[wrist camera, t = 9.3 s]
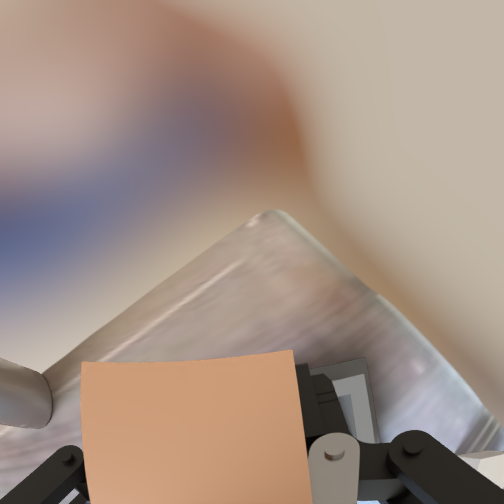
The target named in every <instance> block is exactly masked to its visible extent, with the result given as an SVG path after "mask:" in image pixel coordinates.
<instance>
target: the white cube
mask: <svg viewBox="0 0 504 504" xmlns="http://www.w3.org/2000/svg"><path fill="white" fill-rule="evenodd" d="M457 456H458V457H459V458H461V459H462V460H463V461H465V462H466V463H467V464H469V465H470V466H471V467H473V468H474V469H476V470H477V471H478V472H480V473H481V474H482V475H484V476H485V477H486V478H488V479H489V480H491V481H492V482H493V483H495V484H496V485H498V486H499V487H500V488H502V489H503V487H504V451H480V452H475V453H468V454H461V455H457Z"/></svg>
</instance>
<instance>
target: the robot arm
mask: <svg viewBox="0 0 504 504" xmlns="http://www.w3.org/2000/svg"><path fill="white" fill-rule="evenodd" d="M295 370H296V377H297V384H298V391H299V398H300V405H301V412H302V420H303V427H304V435H305V443H306V451H307V459H308V467H309V476H310V485H311V494H312V503H313V504H357V501H374V500H378V501H379V502H380V504H504V490H503V489H502V488H500V487H499V486H498V485H496V484H495V483H493V482H492V481H491V480H489V479H488V478H486V477H485V476H484V475H482V474H481V473H480V472H478V471H477V470H476V469H474V468H473V467H471V466H470V465H469V464H467V463H466V462H465V461H463V460H462V459H461V458H459V457H458V456H457V455H455V454H454V453H453V452H452V451H450V450H449V449H448V448H446V447H445V446H444V445H442V444H441V443H440V442H439V441H437V440H436V439H435V438H433V437H432V436H431V435H429V434H428V433H426V432H424V431H420V430H410V431H406V432H403V433H401V434H399V435H398V436H396V437H395V438H394V439H393V440H392V442H391V443H365V442H362V441H360V440H358V439H356V438H355V437H354V436H353V435H352V434H351V433H350V431H349V429H348V426H347V423H346V420H345V417H344V414H343V411H342V408H341V405H340V402H339V401H338V397H337V394H336V392H335V388H334V385H333V382H332V380H331V379H329V378H328V377H327V376H326V375H325V374H324V373H322V374H317V375H310V371H309V367H308V364H307V363H303V364H298V365H295ZM51 412H52V397H51V392H50V389H49V386H48V384H47V382H46V380H45V378H44V377H43V376H42V375H41V374H40V373H39V372H37V371H34V370H31V369H28V368H26V367H23V366H20V365H18V364H15V363H12V362H10V361H7V360H5V359H2V358H0V424H2V425H8V426H14V427H21V428H35V429H40V428H43V427H44V426H45V425H46V424H47V423H48V422H49V419H50V417H51ZM74 488H75V489H76V490H77V491H78V492H79V494H78V495H77V496H76V497H75V498H74V499H73V500H72V501H71V502H70V503H69V504H91V502H90V497H89V491H88V485H87V479H86V472H85V464H84V455H83V451H82V450H81V449H80V448H79V447H77V446H73V445H68V446H64V447H62V448H60V449H58V450H57V451H56V452H55V453H54V454H53V455H52V456H50V457H49V458H48V459H47V460H46V461H45V462H44V463H42V464H41V465H40V466H39V467H38V468H37V469H36V470H34V471H33V472H32V473H31V474H30V475H29V476H28V477H26V478H25V479H24V480H23V481H22V482H21V483H19V484H18V485H17V486H16V487H15V488H14V489H12V490H11V491H10V492H9V493H8V494H7V495H5V496H4V497H3V498H2V499H1V500H0V504H59V503H60V502H61V501H62V500H63V499H64V498H65V497H66V496H67V495H68V494H69V493H70V492H71V491H72V490H73V489H74Z"/></svg>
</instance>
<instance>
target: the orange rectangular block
mask: <svg viewBox="0 0 504 504" xmlns="http://www.w3.org/2000/svg"><path fill="white" fill-rule="evenodd" d="M81 429H82V444H83V455H84V464H85V472H86V479H87V485H88V491H89V497H90V502H91V504H313V503H312V494H311V485H310V476H309V467H308V459H307V451H306V443H305V435H304V427H303V420H302V412H301V405H300V398H299V391H298V384H297V377H296V370H295V363H294V356H293V350H292V349H291V350H285V351H278V352H271V353H264V354H256V355H248V356H239V357H230V358H219V359H207V360H194V361H176V362H148V363H108V362H82V364H81Z"/></svg>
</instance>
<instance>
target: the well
mask: <svg viewBox="0 0 504 504" xmlns="http://www.w3.org/2000/svg"><path fill="white" fill-rule="evenodd" d="M309 371H310V375H317V374H322V373H324V374H325V375H326V376H327V377H328V378H329V379H331V380H332V382H333V385H334V388H335V392H336V394H337V397H338V401H339V402H340V405H341V408H342V411H343V414H344V417H345V420H346V423H347V426H348V429H349V431H350V433H351V434H352V435H353V436H354V437H355V438H356V439H358V440H360V441H362V442H365V443H380V442H379V434H378V427H377V420H376V413H375V407H374V401H373V395H372V389H371V384H370V378H369V373H368V368H367V363H366V358H365V357H364V358H360V359H355V360H351V361H347V362H342V363H338V364H333V365H328V366H323V367H318V368H313V369H309Z"/></svg>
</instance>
